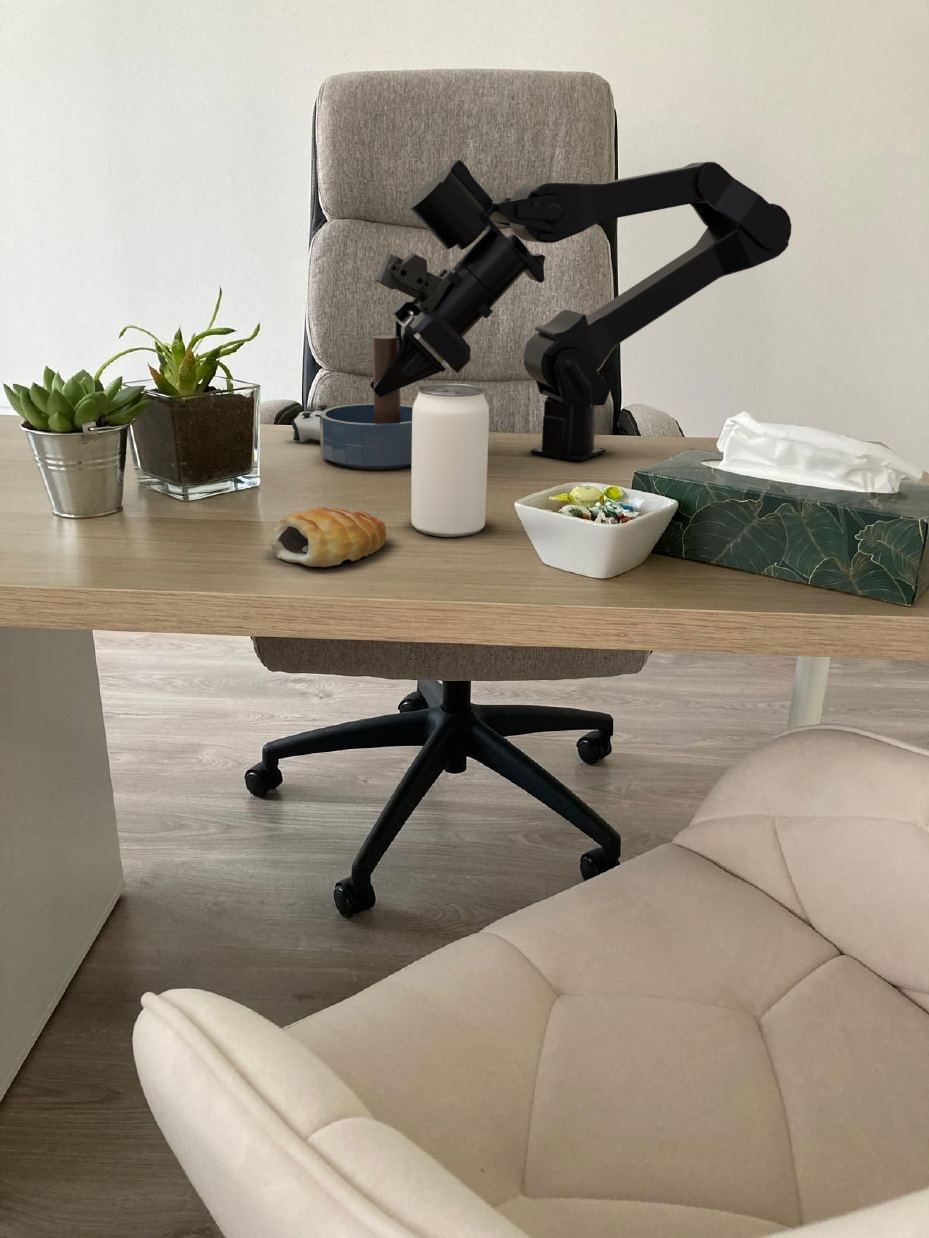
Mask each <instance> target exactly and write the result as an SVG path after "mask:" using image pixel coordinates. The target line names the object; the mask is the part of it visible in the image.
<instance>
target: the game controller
mask: <svg viewBox="0 0 929 1238" xmlns="http://www.w3.org/2000/svg"><path fill="white" fill-rule="evenodd" d="M326 409H328V405H327V404H320V405H319V406H318V408H317V409H311V410H310V409H306V410H304V411H301V412H299V413H298V414H297V415H296V417H295V418H294V419H292V420H291V426H292V429H293V432H294V433H293V435H294V436H293V441H296V442H300V443H304V442H306V441H308V440H316V441H318V442H320V413H321V412H322V411H324V410H326Z"/></svg>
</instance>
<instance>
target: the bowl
mask: <svg viewBox="0 0 929 1238" xmlns="http://www.w3.org/2000/svg"><path fill="white" fill-rule="evenodd" d="M412 410H413V405H406V404H400V423H384V424H375V416H374V403H357V404H355V403H354V404H346V405H345V404H344V405H338V406H333V407H328V408H326V410H324V411H322V412H321V413H320V441H319V442H320V443H319V444H320V455H321V456H322V458H324V459H325V460H328V461H330V462H333V463H334V464H337V465H339V466H341V467H346V468H353V469H361V470H394V469H403V468H407V467H412Z"/></svg>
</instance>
